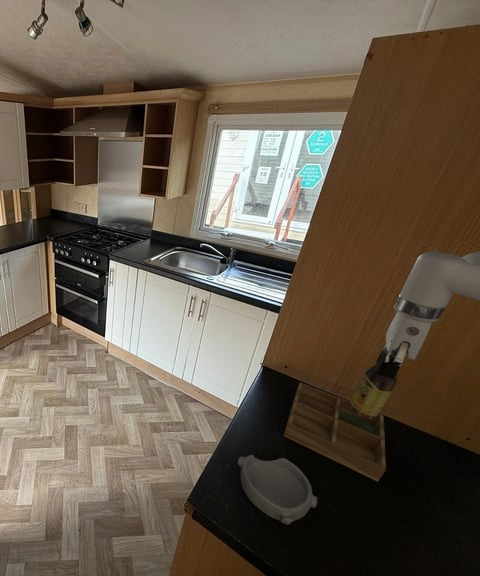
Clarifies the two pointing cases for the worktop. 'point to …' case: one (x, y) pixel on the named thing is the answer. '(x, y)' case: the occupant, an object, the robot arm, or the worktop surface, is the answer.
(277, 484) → the dish
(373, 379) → the sauce bottle
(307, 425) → the grid
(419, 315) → the robot arm
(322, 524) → the worktop surface
